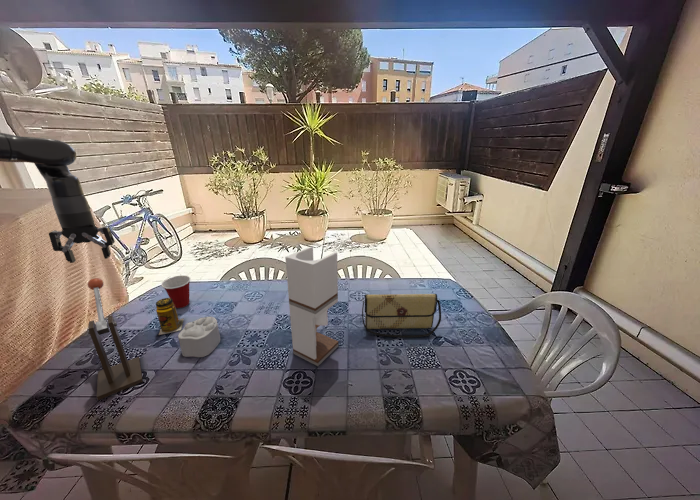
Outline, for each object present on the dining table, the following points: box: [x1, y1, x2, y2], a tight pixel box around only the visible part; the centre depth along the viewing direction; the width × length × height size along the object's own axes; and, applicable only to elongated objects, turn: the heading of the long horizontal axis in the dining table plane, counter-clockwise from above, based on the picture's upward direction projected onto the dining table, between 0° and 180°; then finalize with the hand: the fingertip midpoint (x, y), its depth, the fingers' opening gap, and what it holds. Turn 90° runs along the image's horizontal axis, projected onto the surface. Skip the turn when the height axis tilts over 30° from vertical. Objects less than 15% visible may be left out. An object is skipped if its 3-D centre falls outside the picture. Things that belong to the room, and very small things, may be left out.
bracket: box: [86, 315, 144, 401], centre depth 78 cm, size 12×10×20 cm
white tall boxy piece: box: [284, 246, 339, 367], centre depth 87 cm, size 11×11×35 cm
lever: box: [87, 277, 111, 336], centre depth 79 cm, size 19×4×4 cm, turn 39°
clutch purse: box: [361, 293, 442, 339], centre depth 100 cm, size 30×7×15 cm, turn 92°
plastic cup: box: [160, 275, 191, 309], centre depth 118 cm, size 11×11×12 cm
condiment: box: [155, 297, 185, 336], centre depth 103 cm, size 7×8×12 cm
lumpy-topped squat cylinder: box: [177, 316, 221, 358], centre depth 94 cm, size 10×13×9 cm
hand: (90, 259), depth 88 cm, fingers open, 8 cm apart
